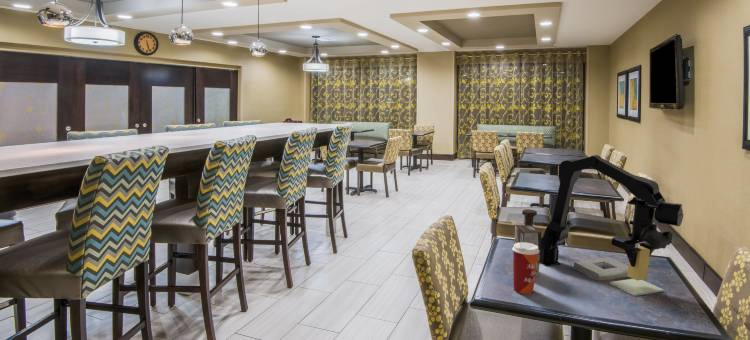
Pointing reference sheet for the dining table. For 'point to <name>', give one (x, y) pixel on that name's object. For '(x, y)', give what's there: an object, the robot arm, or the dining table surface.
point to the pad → (636, 287)
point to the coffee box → (529, 239)
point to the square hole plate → (596, 272)
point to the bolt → (529, 216)
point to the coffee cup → (524, 266)
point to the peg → (640, 265)
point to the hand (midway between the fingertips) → (638, 265)
